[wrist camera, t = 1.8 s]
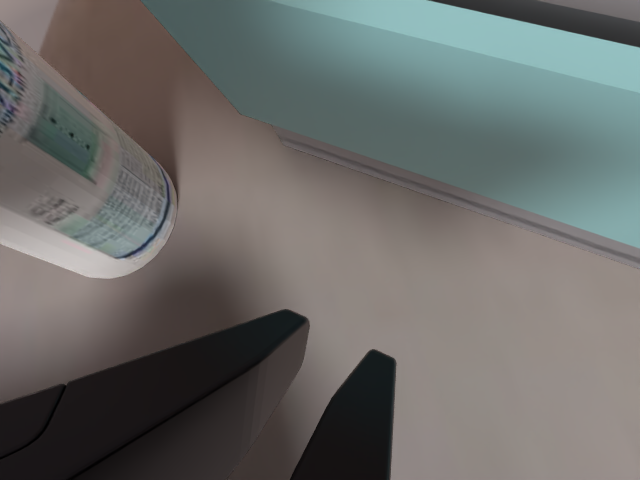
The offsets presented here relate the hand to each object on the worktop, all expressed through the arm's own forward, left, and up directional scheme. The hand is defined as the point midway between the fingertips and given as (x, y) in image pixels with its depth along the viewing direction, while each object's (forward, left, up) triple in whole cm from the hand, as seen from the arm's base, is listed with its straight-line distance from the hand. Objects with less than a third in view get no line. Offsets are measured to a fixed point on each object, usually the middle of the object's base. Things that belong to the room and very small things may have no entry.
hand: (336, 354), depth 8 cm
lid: (+7, 0, -5) cm, 8 cm away
